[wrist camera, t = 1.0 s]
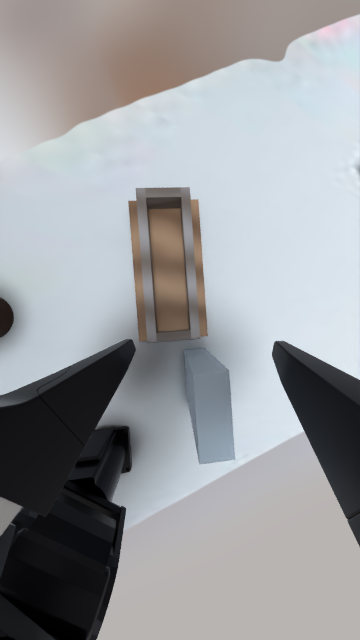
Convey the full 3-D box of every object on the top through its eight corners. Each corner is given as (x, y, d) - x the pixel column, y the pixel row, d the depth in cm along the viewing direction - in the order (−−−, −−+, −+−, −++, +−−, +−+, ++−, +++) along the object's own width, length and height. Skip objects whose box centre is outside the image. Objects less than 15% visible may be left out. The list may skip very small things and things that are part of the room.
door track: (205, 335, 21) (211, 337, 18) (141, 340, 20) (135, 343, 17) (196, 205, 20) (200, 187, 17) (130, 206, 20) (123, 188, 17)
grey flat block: (207, 398, 21) (234, 459, 12) (187, 400, 21) (199, 464, 12) (204, 347, 21) (228, 370, 12) (183, 349, 20) (193, 374, 11)
